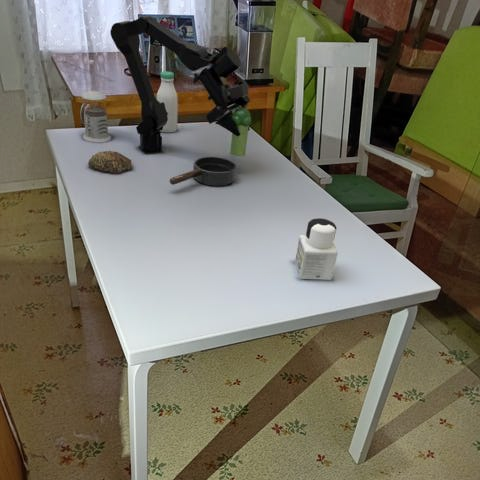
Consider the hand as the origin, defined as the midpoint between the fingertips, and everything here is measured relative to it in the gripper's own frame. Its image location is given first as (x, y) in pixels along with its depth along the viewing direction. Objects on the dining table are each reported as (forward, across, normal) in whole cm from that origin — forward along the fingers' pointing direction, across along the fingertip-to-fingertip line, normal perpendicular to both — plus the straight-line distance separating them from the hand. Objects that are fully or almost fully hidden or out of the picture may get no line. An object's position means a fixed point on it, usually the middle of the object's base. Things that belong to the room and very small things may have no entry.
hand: (243, 133), depth 161 cm
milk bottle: (-20, +20, +39) cm, 48 cm away
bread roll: (-15, -22, +34) cm, 43 cm away
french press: (-29, -5, +49) cm, 57 cm away
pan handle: (+2, -21, +13) cm, 24 cm away
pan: (+6, -8, +13) cm, 16 cm away
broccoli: (+4, 0, +6) cm, 7 cm away
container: (+39, -42, -20) cm, 60 cm away
